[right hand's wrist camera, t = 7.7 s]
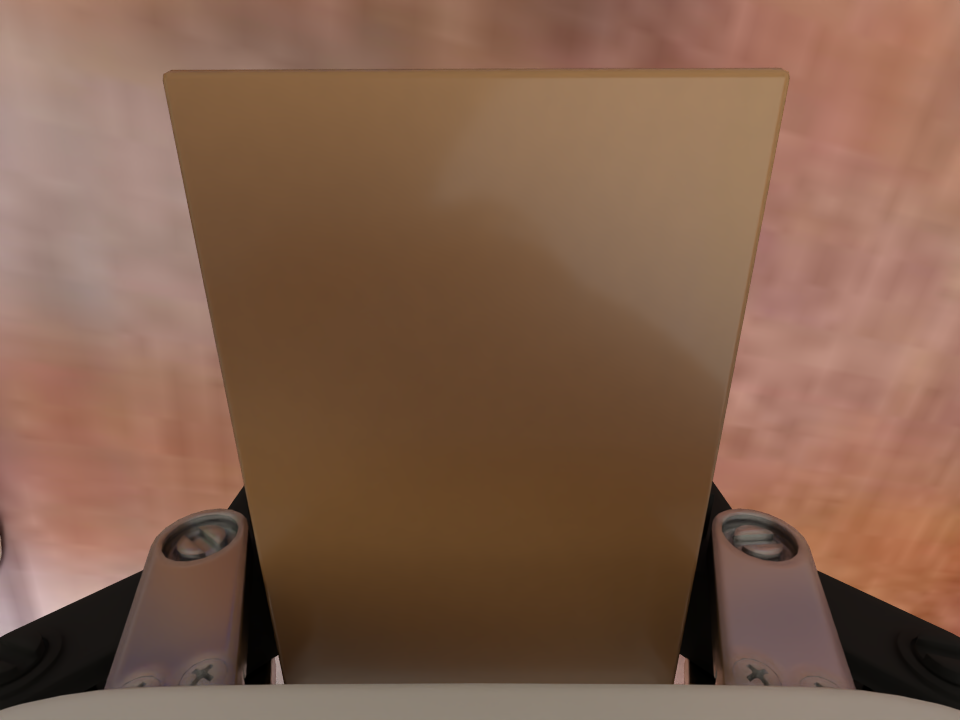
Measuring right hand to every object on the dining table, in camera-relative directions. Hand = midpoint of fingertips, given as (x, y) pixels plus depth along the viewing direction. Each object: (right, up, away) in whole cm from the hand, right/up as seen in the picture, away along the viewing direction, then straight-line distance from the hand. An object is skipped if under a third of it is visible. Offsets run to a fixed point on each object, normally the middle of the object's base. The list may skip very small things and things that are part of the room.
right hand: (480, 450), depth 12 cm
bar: (0, -21, +11) cm, 24 cm away
